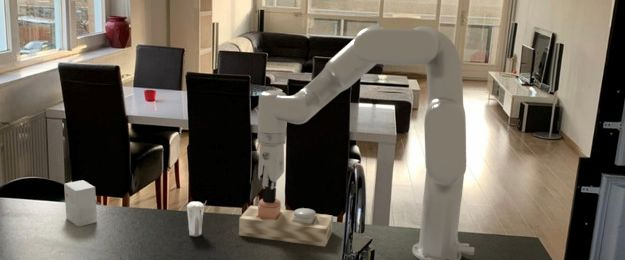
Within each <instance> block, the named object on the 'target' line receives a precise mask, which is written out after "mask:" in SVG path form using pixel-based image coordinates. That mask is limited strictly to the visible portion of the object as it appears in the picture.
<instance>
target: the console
mask: <svg viewBox="0 0 625 260" xmlns="http://www.w3.org/2000/svg"><path fill="white" fill-rule="evenodd" d="M258 206H259V205H258ZM258 206H257V205H249V207H248V208H247V209H246V210H245V211H244V212H243V213H242V214H241V216H240V217H239V221H238V223H239V224H238V225H239V226H238V235H239V236H242V237H251V238H257V239H264V240H270V241H271V240H272V241H281V242H287V243H288V242H289V243H296V244H304V245H309V246H316V247H323V248H325V247H327V245H328V241H329V240H330V237H331V236H332V233H333V222H334V221H333V219H334V216H333V215H330V214H321V213H316V214H315V222H314V224H306V223H298V222H294V211H295V210H289V209H282V208H281V210H280V216H279V218H278V219H277V220H274V219H266V218H258Z"/></svg>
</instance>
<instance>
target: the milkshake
mask: <svg viewBox="0 0 625 260" xmlns="http://www.w3.org/2000/svg"><path fill="white" fill-rule="evenodd" d="M206 203H207V201H205V202H204V203H202V202H201V201H190V202H188V204H187V205H186V210H187V211H186V212H187V213H186V214H187V220H188V231H189V234H188V235H189V236H190V237H199V236H201V235H202V229H203V216H204V212H205V211H204V210H205V205H206Z"/></svg>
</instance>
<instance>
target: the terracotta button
mask: <svg viewBox="0 0 625 260" xmlns="http://www.w3.org/2000/svg"><path fill="white" fill-rule="evenodd" d="M281 204H282V202H281V200H280V199H277V198H276V200H275V202H274V203H267V202H263V198H261V199H260V200H259V202H258V218H266V219H274V220H277V219H278V218H279V216H280V210H281V209H282V207H281Z"/></svg>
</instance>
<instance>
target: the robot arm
mask: <svg viewBox="0 0 625 260" xmlns="http://www.w3.org/2000/svg"><path fill="white" fill-rule="evenodd" d="M376 65H385V66H386V65H389V66H390V65H391V66H425V68H426V69H425V70H426V86H427V87H426V88H427V108H426V111H425V115H424V121H423V122H424V125H423V127H424V131H423V132H424V154H425V156H424V157H425V159H424V160H425V161H424V162H425V164H424V165H425V170H426V171H425V177H424V178H425V179H424V187H423V188H424V191H423V198H422V199H423V201H422V208H421V220H420V230H419V241H418V242H417V243H414V244H413V246H412V254H413V256H415V258H417V259H418V260H461V259H462V254H466V255H471V256H474V255H475V247H474V246H470V243H462V242H460V241H459V237H458V234H459V226H460V224H459V223H460V214H461V206H462V200H463V199H462V197H463V191H464V190H463V189H464V178H465V173H466V171H467V125H466V124H467V123H466V121H467V120H466V111H465V107H464V106H465V105H464V92H463V91H464V89H463V88H464V86H463V69H462V62H461V58H460V54H459V52H458V49H457V47H456V45H455V43H454V42H453V41H452V40H451V39H450V38H449V37H448V36H447V35H446V34H445V33H443V32H441V31H439V30H438V29H436V28H433V27H431V26H427V25H426V26H425V25H420V26H417V27H415V28H385V27H383V26H380V25H376V24H374V25H369V26H368V27H365V28H363V29H362V30H360V31H359V32H358V33H357V34H356V36H355V38H353V39H352V40H351V41H350V42H349V43H347V45H345V46H344V47H343V48H342V49H341V50H340V51H338V52H337V53H336V54H335V55H334V56H333V57H331V58H330V59H329V60H328V62H326V64H325V66H324V67H323V69H322V70H321V71H320V73H319V74H318V75H317V76H315V77H314V78H313V79H312V80H311V81H310V82H309V83H307V85H305V86H304V87H303V88H302V89H300V90H299V91H298V92H296V93H295V94H293V95H287V94H286V93H285V92H283V91H280V90H264V91H261V92H260V94H259V96H258V112H257V113H258V116H257V118H258V119H257V120H258V121H257V141H256V142H257V143H258V144H260V147H259V155H258V156H259V157H258V173H257V174H258V176H257V178H258V179H259V181H262V199H263V202H267V203H274V202H275V200H276V199H277V183H278V182H277V181H278V180H279V179H280V178H281V177H282V175H283V174H284V172H285V144H286V141H287V140H286V137H287V136H286V135H287V123H289V124H294V125H302V124H305V123H307V122H308V121H309V120H310V119H311V118H313V117H314V116H315V115H316V114H317V113H318V112H319V111H320V110H322V108H324V107H325V106H326V105H328V104H329V103H330V102H331V101H333V99H335V98H336V97H337V96H338V95H339V94H340V93H342V92H344V91H346V90H347V89H349V88H350V87H352V86H353V85H354V84H355V83H356V82H357V81H358V80H360V79H361V78H362V77H363V76H364V75H366V74H367V73H368V72H369V71H370V70H371V69H373V68H374V67H375V66H376Z"/></svg>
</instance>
